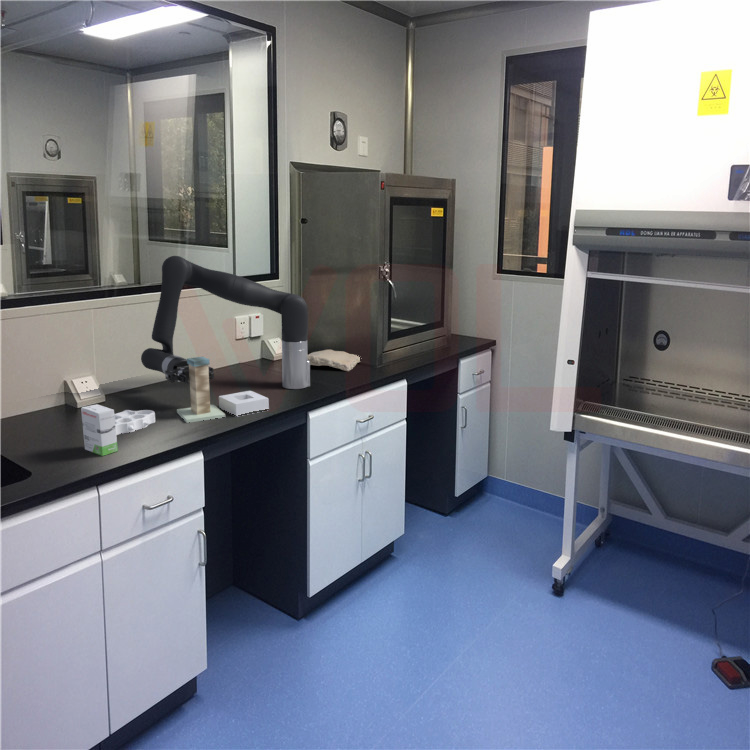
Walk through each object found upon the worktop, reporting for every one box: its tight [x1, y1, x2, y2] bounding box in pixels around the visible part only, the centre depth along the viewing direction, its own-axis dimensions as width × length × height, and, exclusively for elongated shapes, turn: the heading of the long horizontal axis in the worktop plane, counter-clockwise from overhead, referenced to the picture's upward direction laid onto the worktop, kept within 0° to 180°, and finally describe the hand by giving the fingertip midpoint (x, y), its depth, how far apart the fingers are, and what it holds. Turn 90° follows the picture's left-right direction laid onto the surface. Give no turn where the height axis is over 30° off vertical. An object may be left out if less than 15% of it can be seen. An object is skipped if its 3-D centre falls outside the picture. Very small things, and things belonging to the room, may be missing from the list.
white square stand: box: [218, 390, 270, 417], centre depth 217 cm, size 12×12×4 cm
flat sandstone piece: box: [308, 349, 361, 372], centre depth 278 cm, size 24×8×20 cm
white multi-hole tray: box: [114, 409, 156, 436], centre depth 198 cm, size 3×18×15 cm
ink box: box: [80, 403, 119, 457], centre depth 177 cm, size 9×5×12 cm, turn 53°
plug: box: [186, 356, 211, 415], centre depth 208 cm, size 5×5×17 cm
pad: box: [176, 404, 226, 424], centre depth 210 cm, size 12×12×1 cm
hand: (199, 378), depth 207 cm, fingers open, 8 cm apart
